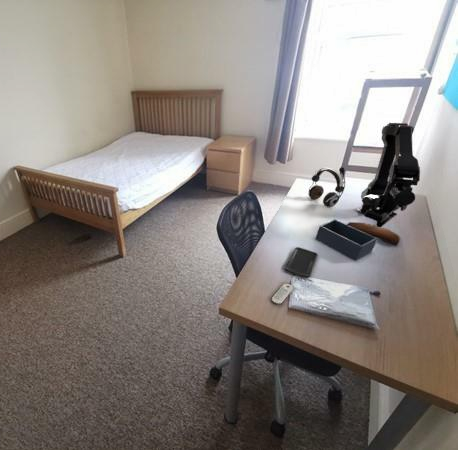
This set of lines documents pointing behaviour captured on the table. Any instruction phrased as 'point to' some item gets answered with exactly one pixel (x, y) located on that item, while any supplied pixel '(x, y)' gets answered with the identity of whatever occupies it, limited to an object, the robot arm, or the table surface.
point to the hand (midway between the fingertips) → (378, 227)
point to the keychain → (282, 294)
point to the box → (346, 239)
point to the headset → (318, 190)
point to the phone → (301, 262)
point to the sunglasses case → (376, 231)
